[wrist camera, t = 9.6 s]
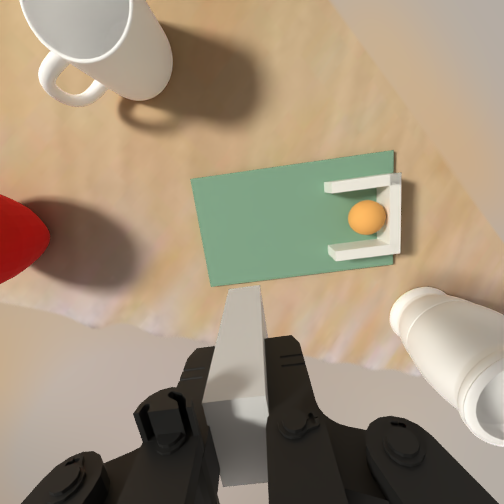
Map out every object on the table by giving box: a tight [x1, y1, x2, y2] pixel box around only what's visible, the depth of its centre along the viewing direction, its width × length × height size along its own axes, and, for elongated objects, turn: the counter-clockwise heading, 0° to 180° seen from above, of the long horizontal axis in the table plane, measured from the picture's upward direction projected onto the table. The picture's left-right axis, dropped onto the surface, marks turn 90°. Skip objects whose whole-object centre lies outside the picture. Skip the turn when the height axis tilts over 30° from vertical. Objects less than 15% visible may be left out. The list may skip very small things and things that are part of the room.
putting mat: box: [191, 150, 394, 287], centre depth 32 cm, size 14×24×1 cm, turn 98°
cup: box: [20, 0, 173, 107], centre depth 24 cm, size 8×12×10 cm
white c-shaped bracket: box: [324, 173, 401, 261], centre depth 30 cm, size 9×7×3 cm
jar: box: [390, 287, 504, 447], centre depth 29 cm, size 11×10×15 cm
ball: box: [348, 200, 386, 235], centre depth 30 cm, size 4×4×4 cm
